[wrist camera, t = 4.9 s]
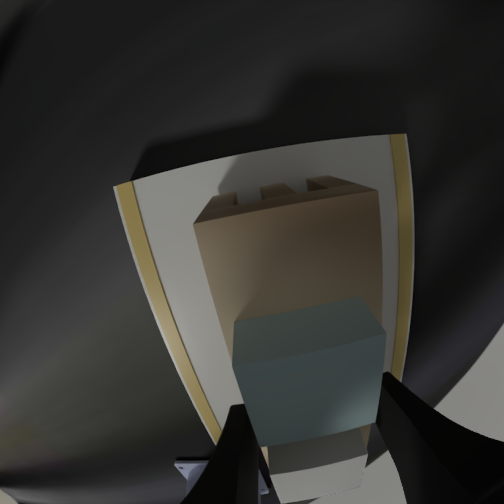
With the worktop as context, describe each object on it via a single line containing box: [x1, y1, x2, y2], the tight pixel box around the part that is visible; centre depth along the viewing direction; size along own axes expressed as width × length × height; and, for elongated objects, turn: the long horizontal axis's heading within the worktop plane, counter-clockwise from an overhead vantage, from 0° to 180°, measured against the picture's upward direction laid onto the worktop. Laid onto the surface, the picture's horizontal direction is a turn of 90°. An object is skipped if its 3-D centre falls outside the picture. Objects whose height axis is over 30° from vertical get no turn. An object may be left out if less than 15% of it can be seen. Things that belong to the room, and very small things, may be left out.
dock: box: [113, 134, 414, 445], centre depth 16 cm, size 19×14×2 cm
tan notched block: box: [193, 175, 383, 468], centre depth 12 cm, size 16×5×5 cm, turn 11°
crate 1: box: [232, 296, 387, 447], centre depth 8 cm, size 4×4×2 cm
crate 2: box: [267, 427, 368, 504], centre depth 10 cm, size 4×4×2 cm
